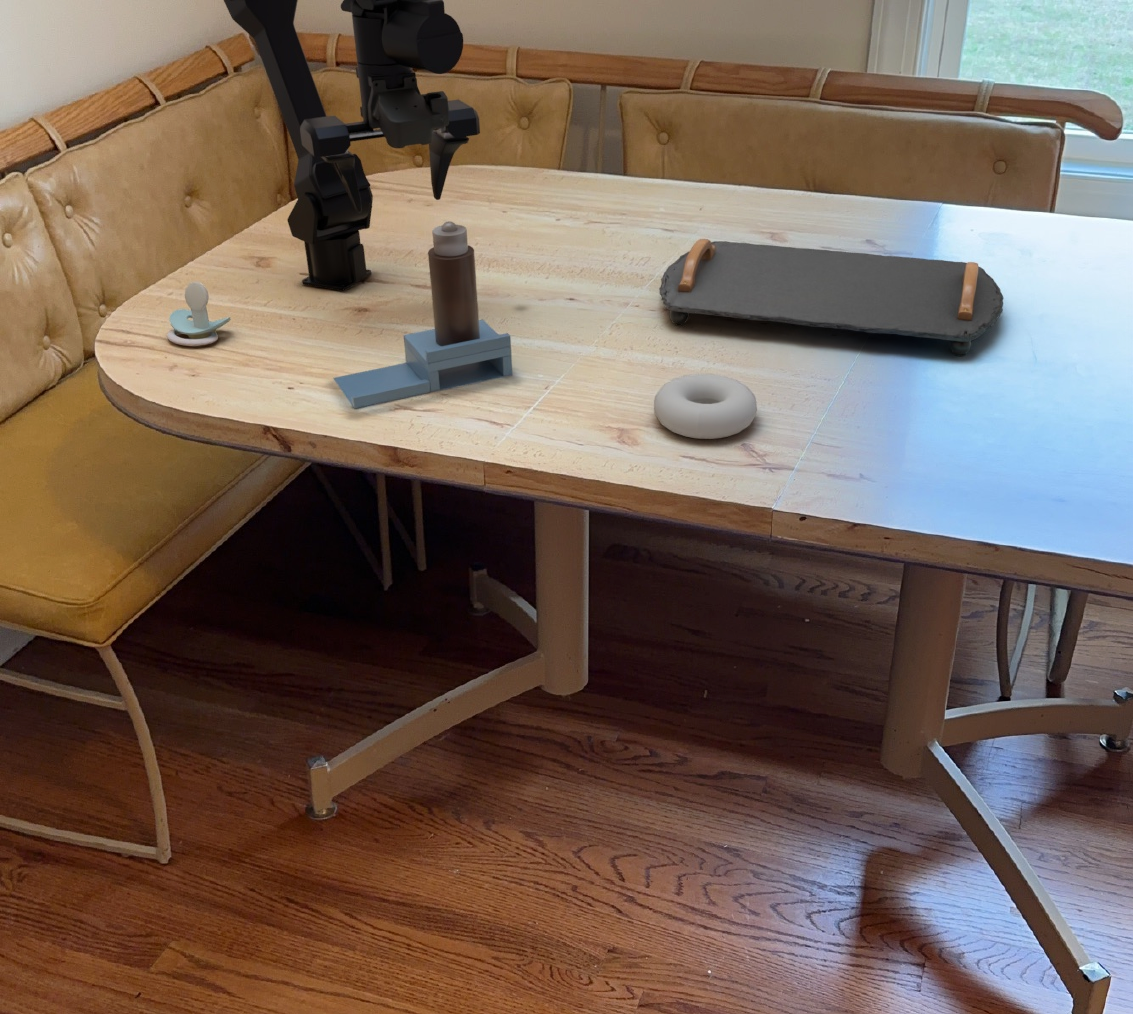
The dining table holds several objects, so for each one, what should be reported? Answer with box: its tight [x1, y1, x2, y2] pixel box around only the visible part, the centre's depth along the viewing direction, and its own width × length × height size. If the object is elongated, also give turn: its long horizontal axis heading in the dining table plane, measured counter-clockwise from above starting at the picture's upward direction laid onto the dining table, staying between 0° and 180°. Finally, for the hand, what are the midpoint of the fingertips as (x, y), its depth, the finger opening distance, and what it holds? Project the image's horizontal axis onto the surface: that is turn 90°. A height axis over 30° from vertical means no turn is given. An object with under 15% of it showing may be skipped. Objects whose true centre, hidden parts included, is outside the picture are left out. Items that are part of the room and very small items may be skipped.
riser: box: [333, 319, 513, 410], centre depth 125 cm, size 8×17×5 cm, turn 115°
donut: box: [653, 373, 758, 440], centre depth 117 cm, size 10×4×10 cm
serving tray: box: [659, 238, 1004, 357], centre depth 139 cm, size 39×23×6 cm, turn 72°
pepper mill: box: [427, 220, 480, 346], centre depth 122 cm, size 5×5×13 cm
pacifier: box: [166, 281, 232, 347], centre depth 136 cm, size 7×6×6 cm
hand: (398, 205), depth 136 cm, fingers open, 9 cm apart
